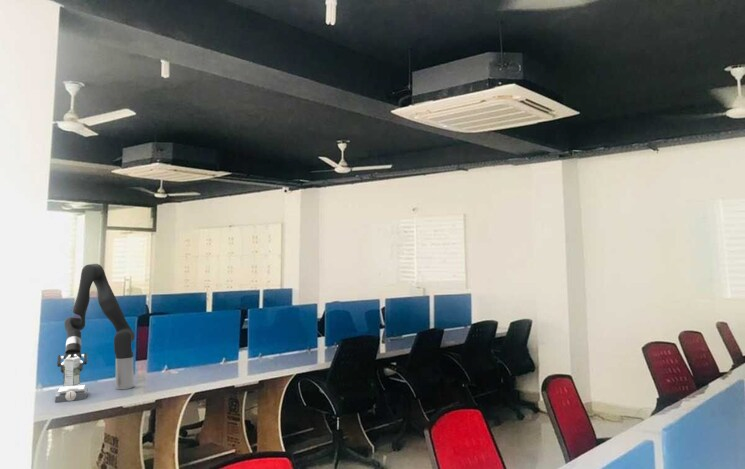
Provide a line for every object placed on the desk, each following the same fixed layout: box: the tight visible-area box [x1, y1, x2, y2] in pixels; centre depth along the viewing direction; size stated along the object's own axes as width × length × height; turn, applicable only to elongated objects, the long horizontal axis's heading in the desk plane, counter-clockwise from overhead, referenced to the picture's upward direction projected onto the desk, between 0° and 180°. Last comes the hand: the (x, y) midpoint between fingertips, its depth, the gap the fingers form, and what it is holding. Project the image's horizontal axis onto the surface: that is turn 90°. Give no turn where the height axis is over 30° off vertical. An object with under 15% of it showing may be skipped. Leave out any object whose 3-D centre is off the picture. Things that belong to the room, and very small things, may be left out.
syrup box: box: [62, 357, 81, 387], centre depth 288 cm, size 6×6×14 cm
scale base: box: [54, 387, 88, 403], centre depth 287 cm, size 15×14×5 cm
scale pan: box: [57, 384, 86, 393], centre depth 287 cm, size 12×12×1 cm
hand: (71, 371), depth 287 cm, fingers closed on syrup box, 8 cm apart
